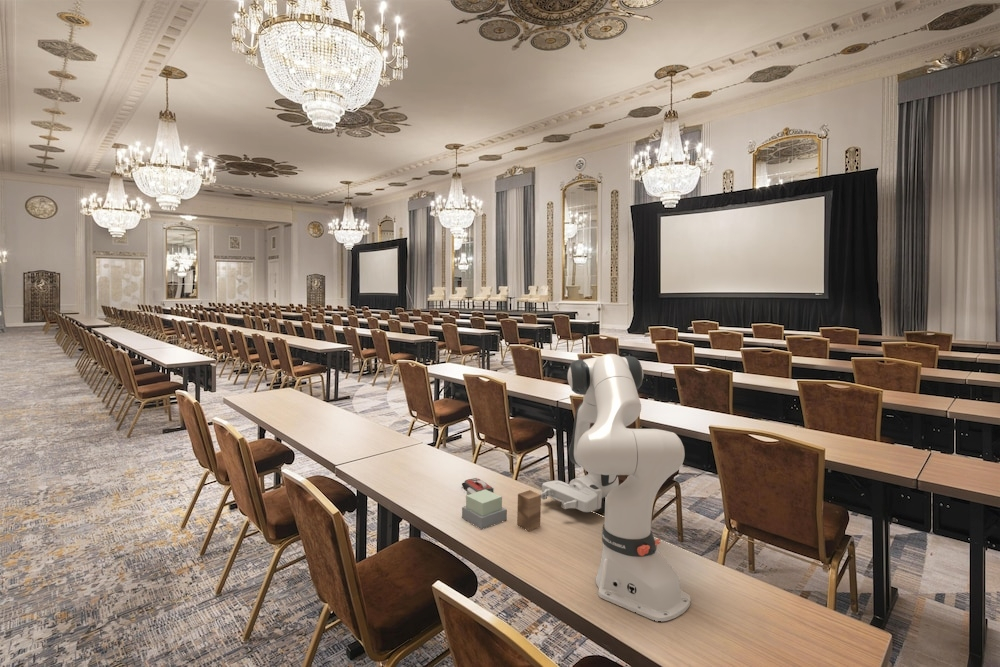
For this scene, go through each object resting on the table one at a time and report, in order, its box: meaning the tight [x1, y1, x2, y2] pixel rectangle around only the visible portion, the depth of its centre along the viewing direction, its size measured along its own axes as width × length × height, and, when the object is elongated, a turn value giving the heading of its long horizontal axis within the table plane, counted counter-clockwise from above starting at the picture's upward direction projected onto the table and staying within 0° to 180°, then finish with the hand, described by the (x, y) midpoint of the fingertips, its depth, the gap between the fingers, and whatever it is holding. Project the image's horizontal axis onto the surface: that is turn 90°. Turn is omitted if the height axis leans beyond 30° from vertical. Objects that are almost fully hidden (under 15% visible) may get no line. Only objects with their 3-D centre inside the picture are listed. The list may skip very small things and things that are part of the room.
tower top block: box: [465, 489, 503, 516], centre depth 162 cm, size 8×8×4 cm
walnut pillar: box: [516, 489, 542, 532], centre depth 159 cm, size 5×5×10 cm
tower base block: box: [461, 505, 508, 530], centre depth 163 cm, size 10×10×4 cm
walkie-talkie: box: [461, 477, 494, 496], centre depth 182 cm, size 9×4×20 cm
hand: (552, 501), depth 165 cm, fingers open, 8 cm apart
